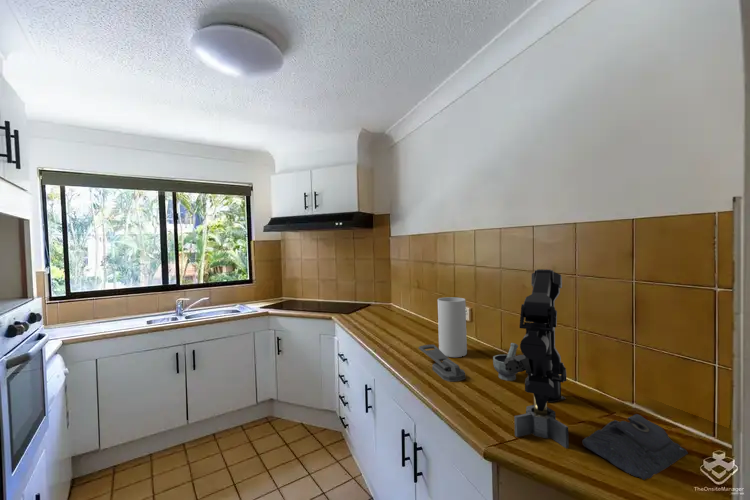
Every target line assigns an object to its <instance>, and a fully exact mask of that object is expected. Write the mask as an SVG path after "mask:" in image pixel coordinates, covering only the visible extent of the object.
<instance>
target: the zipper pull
mask: <svg viewBox="0 0 750 500" xmlns="http://www.w3.org/2000/svg"><path fill="white" fill-rule="evenodd" d="M429 349H430V350H429ZM418 350H420V351H421V352H422V353H424V354H425V355H426V356H427V357H429V358H430V359H431V360H432V361H434V363H433V364H432V365H431V367H432V371H433V372H434V373H436V374H437V375H438V377H440V378H441V379H442V380H443V381H447V382H448V383H449V382H453V383H454V382H460V381H461V382H462V381H463V380H466V372H465V370H464V369H463V368H460V366H459V364H457V363H455V362H454V361H452V359H450V357H446V356H445V355H444V354H443V353H442V352H441V351H440V350H439V347H437V345H435V344H424V345H420V346H418Z"/></svg>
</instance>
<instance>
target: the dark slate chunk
mask: <svg viewBox="0 0 750 500" xmlns="http://www.w3.org/2000/svg"><path fill="white" fill-rule="evenodd" d="M581 441H582V445H583V446H584V448H586V449H588V450H590V451H591V452H593V453H594V454H595V455H598V456H600V457H601V458H603V459H605V460H607V461H608V462H610V464H612V465H613V466H615V467H616V468H619V469H620V470H622V471H623V472H625V473H627V474H628V473H629V474H628V475H630V474H631V476H633V477H635V478H637V477H639V478H638V479H641V478H642V479H641V480H643V481H644V480H645V479H647V478H648V479H651V478H652V477H653V476H654V475H657V474H658V473H661V472H662V471H664V470H665V469H668V468H670V466H673V464H675V463H676V462H677V461H679V460H680V459H682V458H683V457H685V456H687V455H688V454H689V453H688V451H687V449H685V448H684V447H682V446H681V445H680V444H679V443H676V442H675V441H673V440H672V439H671V438H670V437H669V435H668V433H667V432H666V430H665V429H664V428H663V427H661V426H660V425H658V424H656V423H654V422H651V421H650V420H648V419H647V418H645V417H643V416H642V415H641V414H637V413H634V414H633V415H631V416H628V417H627V421H626V420H621V421H619V420H616V419H614V420H612V421H609V422H608V423H607V424H605V426H603V427H602V429H598V430H595V431H594V432H593V433H591V434H590V435H589V436H586V437H585V438H584V439H582V440H581ZM648 479H647V480H648ZM645 481H646V480H645Z"/></svg>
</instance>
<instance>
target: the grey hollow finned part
mask: <svg viewBox="0 0 750 500" xmlns="http://www.w3.org/2000/svg"><path fill="white" fill-rule="evenodd" d="M525 409H526V410H525V413H523V414H518V415H514V417H513V418H514V419H513V420H514V436H515V437H516V438H520V437H523V436H528V435H533V436H535V437H539V438H543V439H552V440H553V441H554V442H556V443H558V444H559V445H561V446H562V447H563V448H565V449H569V448H570V447H569V445H570V443H569V441H570V439H569V426H568V425H566V424H564V423H562V422H561V421H559V420H557V419H556V418H557V416H556V415H557V414H556V411H554V410H553V409H551V408H550V407H548V406H547V416H541V415H536V414H535V413H534V404H532V405H528V406H527V405H526V408H525Z"/></svg>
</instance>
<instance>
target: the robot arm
mask: <svg viewBox="0 0 750 500" xmlns="http://www.w3.org/2000/svg"><path fill="white" fill-rule="evenodd" d="M530 284H531V286H532V291H531V294H530V295H527V296H526V297H525V299H524V301H523V304H521V308H520V319H519V329H523V330H524V329H525V334H524V336H523V337H522V339H521V341H520V344H519V349H520V351H521V354H519V355H515V356H513V357H509V358H506V359H505V361H504V364H505V366H506V367H505V369H506V370H507V371H508V374H514V373H517V372H518V373H522V372H525V374H527V377H526V378H524V379H525V380H524V391H525V392H526V393H529V394H533V398H534V397H535V400H536V404H537V408H538V410H539V411H543V410H544V408H545V405H546V403H547V404H548V403H553V402H559V401H564V400H566V397H565V396H563V395H562V384H563V383H564V382H568V381H567V368H566V366H565V365H564V362H562V359H561V358H562V357H561V354H560V353H559V351H558V350H557V347H556V328H557V323H558V322H557V321H558V310H556V307H555V301H556V300H557V298H558V297H559V295H560V293H561V289H563V278H562V274H561V273H558V272H555V271H554V270H552V269H535V270H534V272H533V273H531V283H530ZM518 373H517V374H518Z"/></svg>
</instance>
